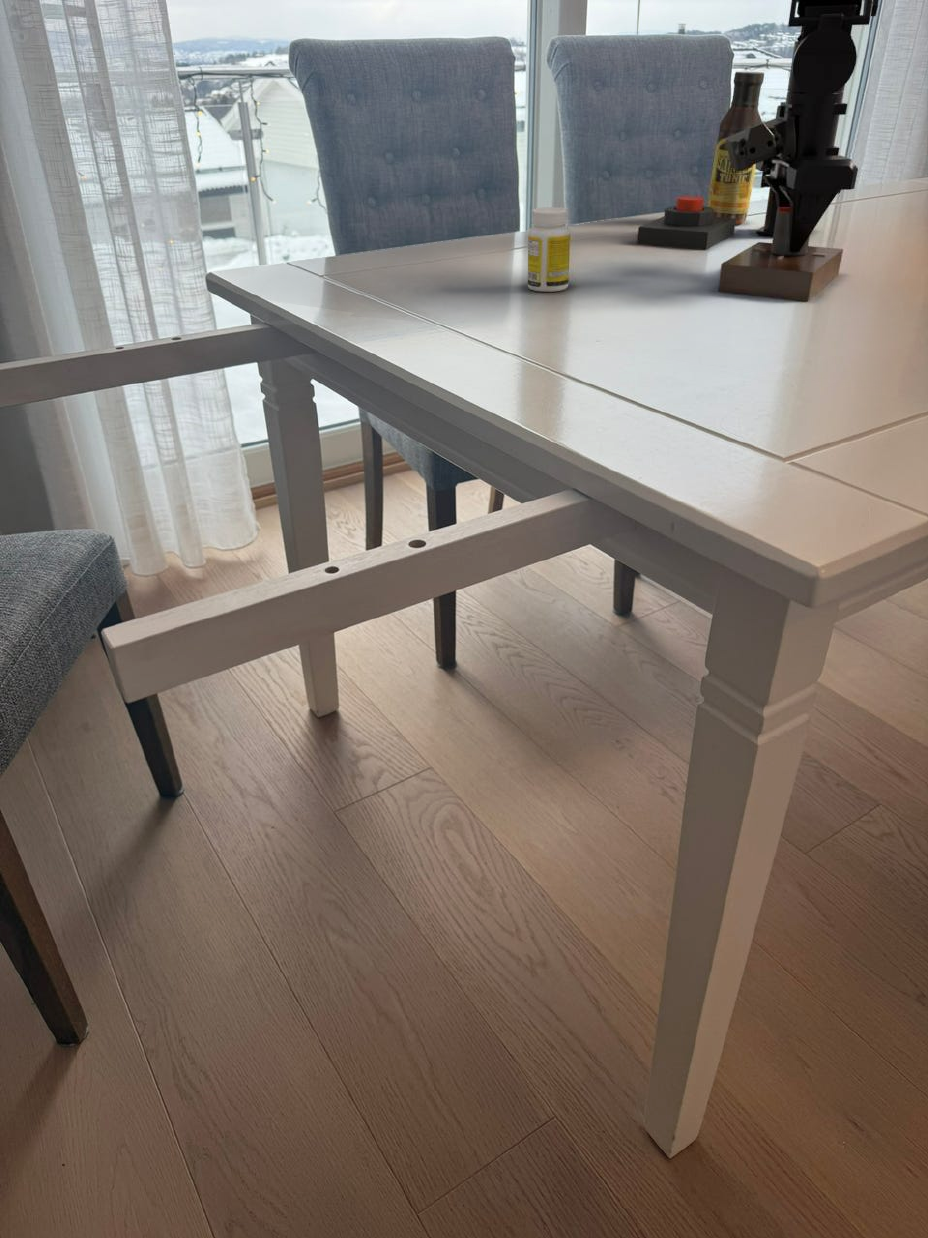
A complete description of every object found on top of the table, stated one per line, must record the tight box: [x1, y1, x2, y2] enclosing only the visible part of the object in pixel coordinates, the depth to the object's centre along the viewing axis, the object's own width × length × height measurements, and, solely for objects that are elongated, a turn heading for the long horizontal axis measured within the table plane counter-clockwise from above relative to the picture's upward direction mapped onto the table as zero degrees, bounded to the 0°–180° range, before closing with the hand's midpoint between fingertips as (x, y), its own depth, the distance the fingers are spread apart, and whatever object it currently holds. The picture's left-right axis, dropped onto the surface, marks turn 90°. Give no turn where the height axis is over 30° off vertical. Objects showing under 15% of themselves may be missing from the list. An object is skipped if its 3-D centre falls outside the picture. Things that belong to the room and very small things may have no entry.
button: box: [675, 195, 705, 211], centre depth 125 cm, size 4×4×2 cm
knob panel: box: [717, 241, 844, 302], centre depth 104 cm, size 14×10×3 cm
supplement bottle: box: [527, 206, 571, 293], centre depth 103 cm, size 5×5×8 cm
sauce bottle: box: [706, 71, 765, 226], centre depth 133 cm, size 6×6×20 cm
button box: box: [636, 205, 736, 251], centre depth 127 cm, size 12×10×4 cm
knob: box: [771, 207, 811, 256], centre depth 103 cm, size 4×4×5 cm
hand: (789, 247), depth 104 cm, fingers closed on knob, 4 cm apart
